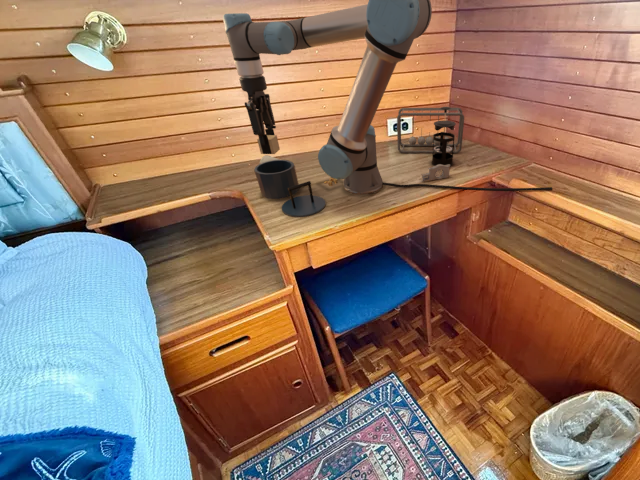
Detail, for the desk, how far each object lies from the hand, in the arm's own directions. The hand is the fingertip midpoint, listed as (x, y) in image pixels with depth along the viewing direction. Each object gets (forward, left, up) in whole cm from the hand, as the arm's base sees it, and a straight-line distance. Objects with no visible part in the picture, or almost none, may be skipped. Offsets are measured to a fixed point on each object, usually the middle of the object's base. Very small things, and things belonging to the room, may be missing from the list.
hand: (270, 150), depth 116 cm
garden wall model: (-59, -14, -16) cm, 63 cm away
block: (0, 0, 0) cm, 0 cm away
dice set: (-18, -8, -16) cm, 25 cm away
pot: (0, 0, -16) cm, 16 cm away
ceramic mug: (+8, -17, -16) cm, 24 cm away
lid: (-13, +12, -15) cm, 23 cm away
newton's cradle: (-56, -49, -16) cm, 76 cm away
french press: (-62, -32, -16) cm, 71 cm away
